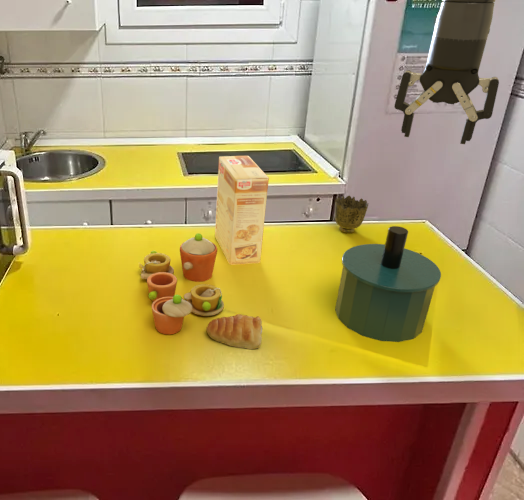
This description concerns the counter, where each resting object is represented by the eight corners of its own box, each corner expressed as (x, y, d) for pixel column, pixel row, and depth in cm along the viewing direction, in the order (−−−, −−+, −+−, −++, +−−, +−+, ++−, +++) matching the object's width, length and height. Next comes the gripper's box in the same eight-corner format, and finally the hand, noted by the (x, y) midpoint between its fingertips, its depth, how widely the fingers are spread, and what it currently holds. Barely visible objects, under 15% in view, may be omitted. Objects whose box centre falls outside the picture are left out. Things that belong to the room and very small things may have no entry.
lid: (441, 261, 91) (452, 221, 87) (436, 305, 79) (449, 261, 75) (350, 242, 97) (357, 204, 94) (332, 280, 85) (339, 238, 81)
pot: (425, 309, 95) (439, 259, 91) (418, 354, 84) (433, 299, 79) (344, 289, 101) (353, 241, 96) (327, 329, 90) (336, 276, 85)
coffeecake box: (261, 265, 110) (270, 177, 101) (228, 267, 109) (234, 178, 100) (243, 234, 123) (249, 154, 114) (213, 236, 122) (217, 155, 113)
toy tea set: (137, 265, 109) (136, 223, 105) (210, 261, 111) (212, 220, 106) (146, 342, 86) (145, 292, 82) (237, 336, 88) (241, 287, 83)
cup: (368, 232, 124) (374, 201, 121) (353, 242, 120) (359, 210, 116) (339, 223, 129) (344, 193, 125) (324, 232, 124) (329, 201, 120)
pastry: (204, 346, 85) (205, 327, 83) (207, 323, 91) (208, 304, 89) (262, 351, 84) (264, 332, 82) (261, 327, 90) (263, 309, 88)
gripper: (407, 34, 79) (386, 139, 86) (515, 39, 73) (482, 151, 81) (412, 30, 85) (392, 129, 92) (512, 35, 79) (482, 139, 87)
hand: (434, 139), depth 86 cm, fingers open, 8 cm apart
